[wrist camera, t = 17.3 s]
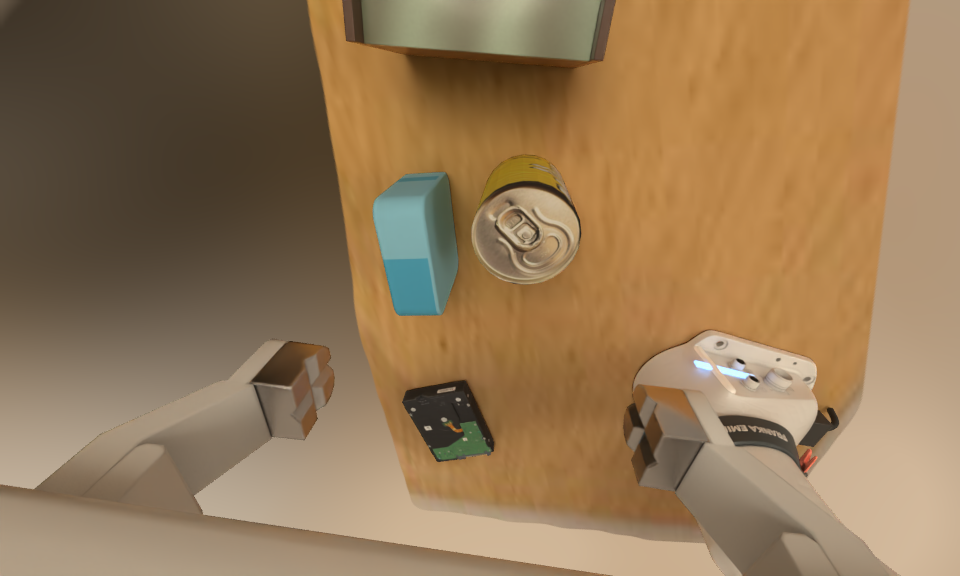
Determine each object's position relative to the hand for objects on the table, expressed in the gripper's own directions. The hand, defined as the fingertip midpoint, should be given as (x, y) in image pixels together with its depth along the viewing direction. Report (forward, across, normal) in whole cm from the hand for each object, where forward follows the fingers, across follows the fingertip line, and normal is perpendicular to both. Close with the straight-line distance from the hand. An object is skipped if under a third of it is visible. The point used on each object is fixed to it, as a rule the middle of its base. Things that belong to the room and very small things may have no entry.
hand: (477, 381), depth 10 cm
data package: (+33, -8, -8) cm, 35 cm away
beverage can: (+33, +2, -4) cm, 34 cm away
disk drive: (+33, -5, -41) cm, 53 cm away
